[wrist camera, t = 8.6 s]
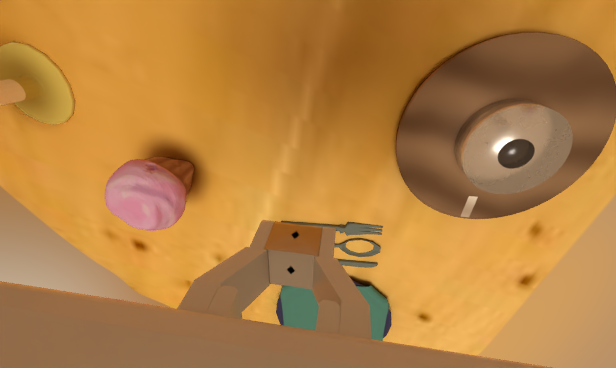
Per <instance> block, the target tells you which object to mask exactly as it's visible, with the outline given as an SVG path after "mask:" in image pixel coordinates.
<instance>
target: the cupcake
mask: <svg viewBox="0 0 616 368" xmlns="http://www.w3.org/2000/svg"><path fill="white" fill-rule="evenodd" d="M193 172H194V167H193V165H192V164H191V163H190V162H188V161H184V160H175V159H171V158H166V157H152V158H149V159H145V160H141V159H136V160H130V161H128V162H126V163H125V164H123V165H122V166H121V167H120V168H118V169H117V170H116V171H115V172H114V173H113V175H112V176H111V177H110V178H109V180H108V182H107V185H106V190H105V201H106V206H107V207H108V209H109V210H110V211H111V212H112V213H113V214H114V215H116V216H118V217H119V218H120V219H122V220H123V221H125V222H126V223H127V224H128V225H130V226H132V227H135V228H137V229H142V230H148V231H155V230H162V229H166V228H169V227H171V226H172V225H174V224H175V223H176V222H177V221H178V220H179V218H180V217H181V216H182V214H183V212H184V210H185V204H186V196H187V195H188V193H189V191H190V188H191V183H192V175H193Z"/></svg>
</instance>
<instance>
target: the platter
mask: <svg viewBox="0 0 616 368" xmlns="http://www.w3.org/2000/svg"><path fill="white" fill-rule="evenodd" d="M511 98H522V99H527V100H531V101H534V102H536V103H538V104H541V105H543V106H545V107H548V108H550V109H552V110H554V111H556V112H558V113H560V114H561V115H562V116H563V117H564V118H565V119H566V120H567V121H568V123H569V125H570V127H571V130H572V135H573V141H572V147H571V150H570V153H569V155H568V157H567V159H566V161H565V162H564V163H563V165H562V166H561V167H560V168H559V170H558V171H557V172H556V173H554V174H553V175H552V176H551V177H550V178H548V179H547V180H546V181H544V182H542V183H541V184H539V185H537V186H535V187H533V188H530V189H528V190H525V191H522V192H517V193H511V194H495V193H490V192H486V191H484V190H481V189H479V188H478V187H476V186H475V185H474V184H473V183H472V182H471V181H470V180H469V179H468V177H467V176H466V175H465V173H464V172H463V171H462V169H461V168H460V167H459V165H458V164H457V162H456V159H455V155H454V144H455V140H456V137H457V135H458V132H459V130H460V129H461V127H462V126H463V124H464V123H465V122H466V121H467V120H468V119H469V118H470V117H471V116H472V115H473V114H474V113H475V112H477V111H478V110H480V109H481V108H483V107H485V106H487V105H489V104H491V103H493V102H496V101H500V100H504V99H511ZM615 119H616V84H615V81H614V78H613V75H612V73H611V71H610V70H609V68H608V66H607V64H606V63H605V62H604V61H603V59H602V58H601V57H600V56H599V55H598V54H597V53H596V52H594V51H593V50H592V49H591V48H589V47H588V46H587V45H585V44H583V43H581V42H579V41H577V40H575V39H572V38H568V37H565V36H561V35H557V34H549V33H538V32H537V33H516V34H509V35H503V36H499V37H496V38H492V39H488V40H486V41H483V42H481V43H478V44H476V45H473V46H471V47H469V48H467V49H466V50H464V51H462V52H460V53H458V54H457V55H455V56H454V57H452V58H451V59H449V60H448V61H446V62H445V63H444V64H442V65H441V66H440V67H439V68H438V69H436V70H435V71H434V72H433V73H432V74H431V75H430V76H429V77H428V78H427V79H426V80H425V81H424V82H423V83H422V84H421V86H420V87H419V88H418V90H417V91H416V92H415V94H414V95H413V97H412V98H411V100H410V102H409V103H408V105H407V107H406V109H405V111H404V113H403V116H402V118H401V121H400V124H399V128H398V132H397V138H396V155H397V162H398V165H399V169H400V172H401V175H402V177H403V179H404V181H405V183H406V185H407V186H408V188H409V189H410V191H411V192H412V193H413V194H414V195H415V196H416V197H417V198H418V199H419V200H420V201H422V202H423V203H424V204H426V205H427V206H429V207H431V208H432V209H434V210H437V211H439V212H441V213H444V214H447V215H451V216H454V217H460V218H468V219H489V218H497V217H503V216H508V215H512V214H516V213H519V212H522V211H525V210H528V209H530V208H533V207H535V206H538V205H540V204H542V203H544V202H546V201H548V200H549V199H551V198H553V197H554V196H556V195H558V194H559V193H561V192H562V191H564V190H565V189H566V188H568V187H569V186H570V185H572V184H573V183H574V182H575V181H576V180H577V179H578V178H580V177H581V176H582V175H583V174H584V173H585V172H586V171H587V170H588V168H589V167H590V166H591V165H592V164H593V163H594V161H595V160H596V159H597V157H598V156H599V155H600V153H601V152H602V150H603V148H604V146H605V145H606V143H607V141H608V139H609V137H610V134H611V132H612V129H613V127H614V123H615Z"/></svg>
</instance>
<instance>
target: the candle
mask: <svg viewBox="0 0 616 368" xmlns="http://www.w3.org/2000/svg"><path fill="white" fill-rule="evenodd" d="M10 103H14V104H15V105H16V106H17V107H18V108H19V109H21V110H22V111H23V112H24V113H25V114H26V115H28V116H30V117H32V118H34V119H35V120H37V121H39V122H42V123H47V124H52V125H57V124H61V123H65V122H67V121H68V120H69V119H70V118H71V116H72V115H73V114H74V107H75V99H74V95H73V92H72V88H71V85H70V84H69V82H68V80H67V79H66V77H65V76H64V74H63V72H62V71H61V69H60V68H59V67H58V66H57V65H56V64H55V63H54V62H53V61H52V60H51V59H50V58H49V57H48V56H47V55H46V54H44V53H43V52H41V51H39V50H37V49H36V48H34V47H32V46H31V45H28V44H23V43H18V42H10V43H7V44H5V45H2V46H0V106H1V105H6V104H10Z"/></svg>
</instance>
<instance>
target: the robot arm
mask: <svg viewBox="0 0 616 368" xmlns="http://www.w3.org/2000/svg"><path fill="white" fill-rule="evenodd" d="M335 233H336V229H335V228H327V227H315V226H306V225H297V224H290V223H283V222H276V221H275V222H274V221H267V220H263V221H262V222H261V223H260V225H259V228H258V230H257V232H256V234H255V236H254V239H253V241H252V243H251V245H250V247H245V248H244V249H242V250H241V251H239V252H238V253H236V254H234V255H233V256H231V257H230V258H228V259H227V260H225V261H224V262H222V263H220V264H219V265H217V266H216V267H214V268H213V269H211V270H209V271H208V272H206V273H205V274H203V275H202V276H200V277H199V278H197V279H195V280H194V282H193V284H192V285H191V287H190V289H189V290H188V292H187V293H186V295H185V297H184V298H183V300H182V302H181V303H180V305H179V307H178V308H177V309H174V308H168V307H162V306H155V305H149V304H142V303H136V302H130V301H123V300H117V299H110V298H104V297H98V296H91V295H85V294H79V293H72V292H66V291H59V290H53V289H46V288H40V287H33V286H27V285H21V284H14V283H7V282H2V281H0V368H551V367H544V366H537V365H532V364H525V363H519V362H513V361H506V360H500V359H493V358H487V357H481V356H474V355H468V354H462V353H455V352H449V351H443V350H436V349H430V348H424V347H417V346H411V345H404V344H398V343H392V342H385V341H379V340H373V339H371V322H370V305H369V304H368V303H367V301H366V300H365V298H364V297H363V295H362V294H361V292H360V291H359V290H358V288H357V287H356V285H355V284H354V282H353V281H352V280H351V278H350V277H349V275H348V274H347V272H346V271H345V270H344V268H343V267H342V265H341V264H340V262H339V261H338V259H335V258H333V256H334V245H335ZM269 284H277V285H285V286H293V287H299V288H305V289H311V290H312V291H313V294H314V296H315V298H316V300H317V303H318V305H319V309H318V316H317V324H316V331H315V330H308V329H302V328H296V327H289V326H283V325H276V324H270V323H264V322H257V321H251V320H245V319H242V313H241V312H242V311H243V310H244V309H246V308H247V307H248V306H249V305H250V304H251V303H252V302H253V301H254V300H255V299H256V298H257V297H258V296H259V295H260V294H261V293H262V292H263V291H264V290H265V289H266V288H267V287H268V286H269Z"/></svg>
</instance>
